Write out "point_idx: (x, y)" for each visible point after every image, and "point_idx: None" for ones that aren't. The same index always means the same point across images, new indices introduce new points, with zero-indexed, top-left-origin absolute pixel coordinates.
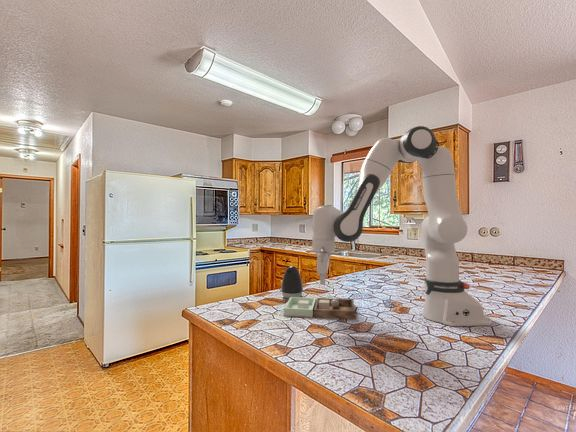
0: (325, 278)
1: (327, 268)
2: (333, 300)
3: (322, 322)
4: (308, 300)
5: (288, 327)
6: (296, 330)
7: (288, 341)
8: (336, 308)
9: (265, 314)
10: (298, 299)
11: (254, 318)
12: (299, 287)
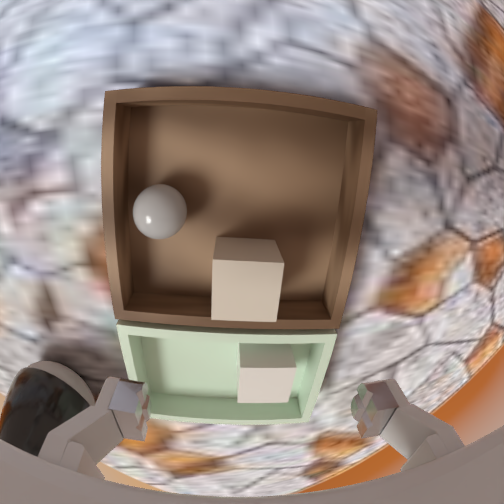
0: (146, 388)
1: (487, 475)
2: (167, 227)
3: (366, 268)
4: (135, 350)
5: (391, 366)
6: (417, 341)
7: (466, 341)
8: (183, 196)
9: (269, 436)
10: None
11: (304, 445)
12: (57, 400)
